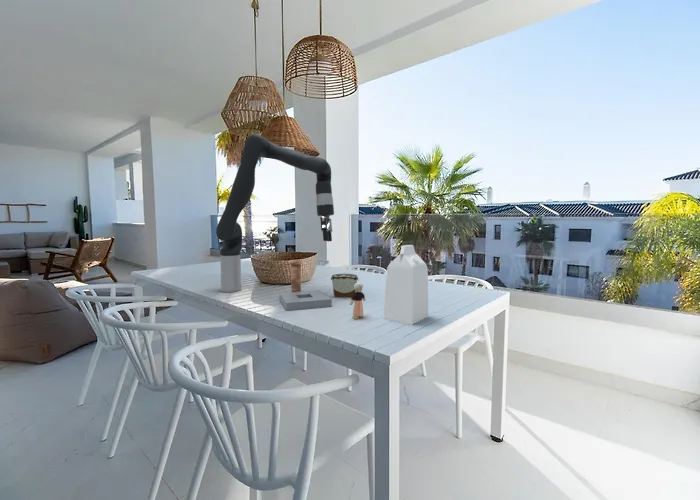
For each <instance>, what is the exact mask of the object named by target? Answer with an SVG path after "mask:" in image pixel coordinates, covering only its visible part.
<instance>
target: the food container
mask: <svg viewBox="0 0 700 500" xmlns="http://www.w3.org/2000/svg"><path fill="white" fill-rule="evenodd" d="M330 280H331V282H332V283H331V284H332V290H333V291H332V292H333V298H334V299H335V298H336V299H352V297H353V295H354V293H355V292H356V291H355V289H354V285H355V284H356V283H358V282H359V277H358V275H357V274H354V273H335V274H332V275H331V277H330Z"/></svg>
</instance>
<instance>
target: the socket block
mask: <svg viewBox="0 0 700 500" xmlns="http://www.w3.org/2000/svg"><path fill="white" fill-rule="evenodd" d="M278 294H279V295H278V297H279V298H278V299H279V302H280V303H281V304H282V306H283V308H284V309H285V311H297V310H299V311H300V310H308V309H310V310H311V309H321V308H331V307H332V304H333V303H332V302H333V301H332V300H333V299H332V298H331V297H329V296H328V295H327V294H325V293H324V292H323V291H321V290H320V289H318V290H305V291H302V290H301V292H279V293H278Z"/></svg>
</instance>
